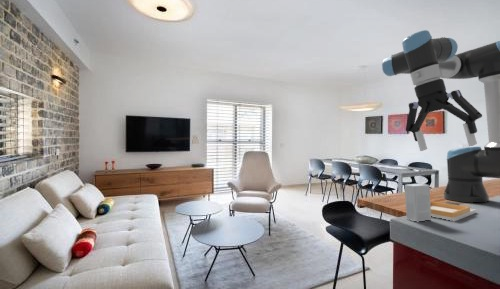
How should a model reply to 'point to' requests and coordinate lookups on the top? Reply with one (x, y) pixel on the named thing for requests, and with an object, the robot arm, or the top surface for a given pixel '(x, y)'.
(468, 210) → the shallow wooden tray
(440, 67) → the robot arm
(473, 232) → the top surface
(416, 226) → the top surface
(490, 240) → the top surface
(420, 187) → the skincare box
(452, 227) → the top surface
